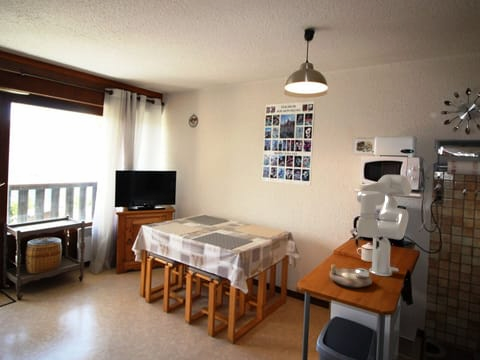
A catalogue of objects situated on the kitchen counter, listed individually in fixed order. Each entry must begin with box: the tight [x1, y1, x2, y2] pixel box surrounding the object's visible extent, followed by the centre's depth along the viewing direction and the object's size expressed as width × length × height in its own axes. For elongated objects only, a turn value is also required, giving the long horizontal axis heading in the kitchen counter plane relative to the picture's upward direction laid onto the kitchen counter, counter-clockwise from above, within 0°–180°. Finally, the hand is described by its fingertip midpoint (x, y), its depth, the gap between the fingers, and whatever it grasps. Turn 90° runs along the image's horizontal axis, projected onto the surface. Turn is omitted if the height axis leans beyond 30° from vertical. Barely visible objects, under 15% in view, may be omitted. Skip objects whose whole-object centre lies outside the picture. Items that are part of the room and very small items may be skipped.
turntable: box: [329, 264, 373, 288], centre depth 162 cm, size 22×22×6 cm
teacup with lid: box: [356, 242, 373, 263], centre depth 201 cm, size 12×9×12 cm
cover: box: [354, 267, 370, 279], centre depth 161 cm, size 7×7×4 cm
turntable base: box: [335, 282, 365, 289], centre depth 162 cm, size 16×16×2 cm
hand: (367, 247), depth 157 cm, fingers open, 9 cm apart
